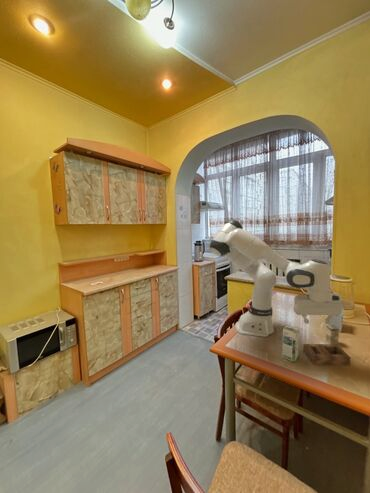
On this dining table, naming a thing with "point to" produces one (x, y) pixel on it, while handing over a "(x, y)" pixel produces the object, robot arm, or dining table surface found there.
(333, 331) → the oak peg
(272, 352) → the dining table surface
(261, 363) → the dining table surface
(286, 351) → the syrup box
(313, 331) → the dining table surface
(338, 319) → the light bulb box
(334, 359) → the socket block
